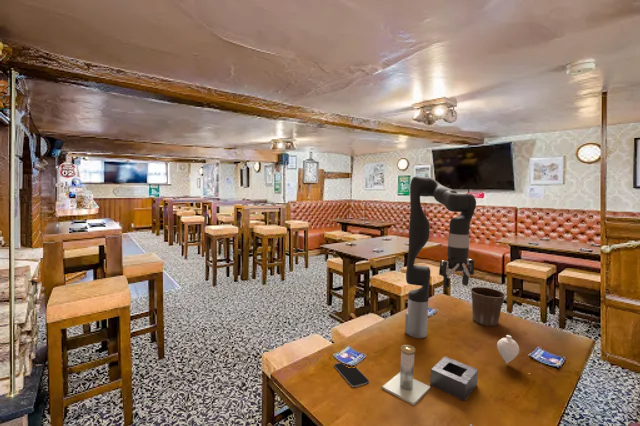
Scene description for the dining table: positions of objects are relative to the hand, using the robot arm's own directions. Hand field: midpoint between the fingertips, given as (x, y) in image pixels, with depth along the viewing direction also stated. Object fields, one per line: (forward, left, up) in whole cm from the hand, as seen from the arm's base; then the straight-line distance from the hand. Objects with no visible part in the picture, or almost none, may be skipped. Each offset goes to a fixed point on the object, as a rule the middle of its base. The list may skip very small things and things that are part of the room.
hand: (455, 286), depth 124 cm
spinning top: (+16, +16, -32) cm, 39 cm away
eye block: (+6, -13, -32) cm, 35 cm away
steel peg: (-5, -27, -31) cm, 42 cm away
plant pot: (-3, +54, -32) cm, 63 cm away
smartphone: (-24, -34, -33) cm, 53 cm away
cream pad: (-5, -27, -32) cm, 42 cm away
